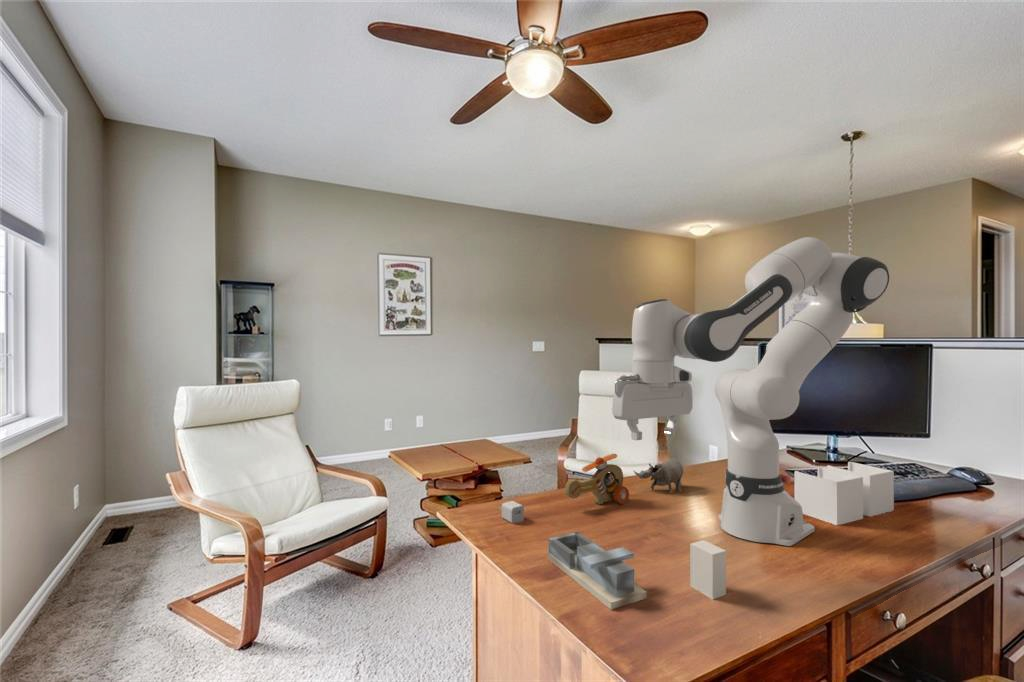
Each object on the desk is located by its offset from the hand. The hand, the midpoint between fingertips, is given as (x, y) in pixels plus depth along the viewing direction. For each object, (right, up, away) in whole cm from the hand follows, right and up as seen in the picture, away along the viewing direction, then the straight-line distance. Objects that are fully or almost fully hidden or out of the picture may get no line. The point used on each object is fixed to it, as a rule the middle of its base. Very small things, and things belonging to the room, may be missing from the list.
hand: (653, 437), depth 101 cm
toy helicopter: (-6, -25, +30) cm, 40 cm away
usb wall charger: (-31, -25, +20) cm, 45 cm away
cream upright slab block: (+5, -25, -15) cm, 30 cm away
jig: (-15, -25, -10) cm, 31 cm away
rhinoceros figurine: (+16, -26, +43) cm, 53 cm away
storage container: (+60, -26, +26) cm, 70 cm away
